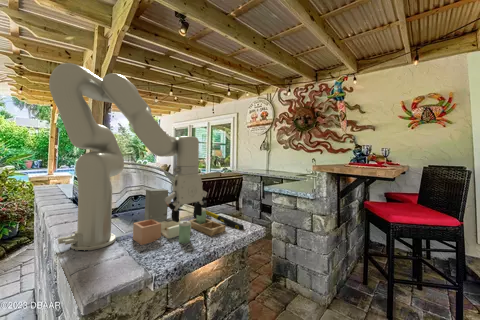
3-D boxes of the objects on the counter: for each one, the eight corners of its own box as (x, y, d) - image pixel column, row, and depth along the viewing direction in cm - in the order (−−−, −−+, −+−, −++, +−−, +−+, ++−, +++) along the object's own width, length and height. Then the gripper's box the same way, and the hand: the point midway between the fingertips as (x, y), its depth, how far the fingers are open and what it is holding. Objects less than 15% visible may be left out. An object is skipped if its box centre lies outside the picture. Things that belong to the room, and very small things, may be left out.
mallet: (246, 229, 90) (247, 208, 90) (238, 233, 85) (240, 211, 85) (199, 216, 106) (200, 198, 106) (190, 219, 101) (191, 199, 101)
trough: (210, 237, 79) (211, 230, 79) (187, 227, 89) (187, 220, 89) (225, 232, 85) (225, 225, 85) (202, 223, 95) (202, 217, 95)
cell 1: (182, 246, 70) (183, 224, 70) (176, 243, 73) (177, 221, 73) (192, 243, 73) (193, 221, 73) (185, 239, 76) (186, 219, 76)
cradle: (168, 240, 74) (168, 227, 74) (156, 233, 81) (156, 221, 80) (190, 233, 82) (191, 221, 82) (178, 227, 88) (178, 216, 88)
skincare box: (148, 228, 85) (149, 191, 85) (143, 223, 91) (144, 188, 90) (168, 224, 91) (169, 189, 91) (162, 220, 96) (163, 187, 96)
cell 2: (200, 228, 86) (200, 209, 86) (194, 225, 89) (195, 208, 89) (207, 226, 89) (208, 208, 89) (201, 223, 92) (202, 206, 92)
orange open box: (141, 245, 70) (142, 228, 70) (132, 239, 74) (133, 222, 74) (160, 239, 75) (161, 223, 75) (151, 234, 80) (152, 218, 80)
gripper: (171, 173, 64) (171, 226, 64) (212, 170, 77) (212, 215, 77) (159, 171, 68) (159, 221, 69) (200, 169, 82) (200, 211, 82)
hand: (187, 218), depth 73 cm, fingers open, 9 cm apart
